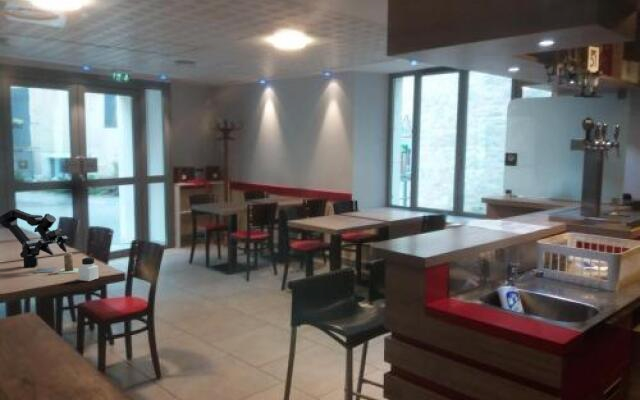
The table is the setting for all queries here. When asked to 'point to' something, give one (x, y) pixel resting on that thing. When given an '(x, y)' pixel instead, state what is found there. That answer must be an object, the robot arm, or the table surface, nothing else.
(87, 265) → the medicine bottle
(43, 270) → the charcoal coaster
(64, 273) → the sage coaster
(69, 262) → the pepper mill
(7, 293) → the table surface
